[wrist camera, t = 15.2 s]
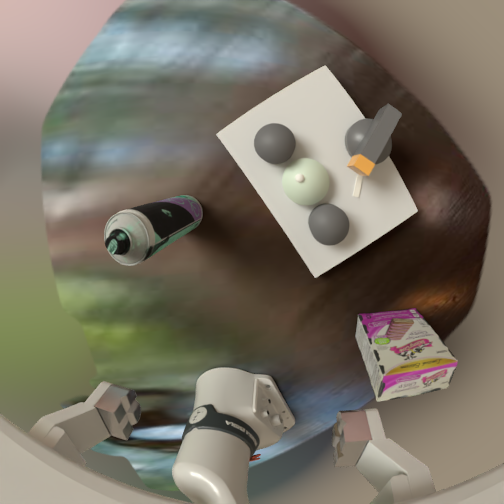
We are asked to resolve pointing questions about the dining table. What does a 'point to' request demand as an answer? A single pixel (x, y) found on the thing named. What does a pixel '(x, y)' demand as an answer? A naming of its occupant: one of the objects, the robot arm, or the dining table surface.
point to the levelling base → (328, 148)
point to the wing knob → (371, 140)
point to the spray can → (150, 228)
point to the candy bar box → (403, 354)
